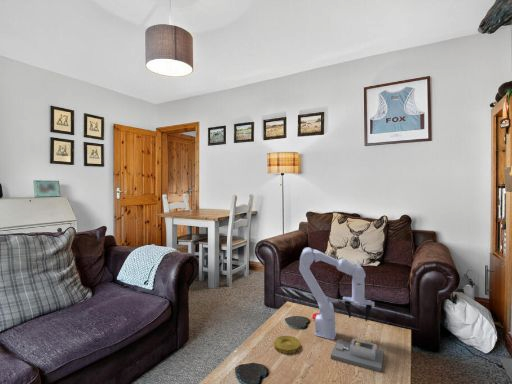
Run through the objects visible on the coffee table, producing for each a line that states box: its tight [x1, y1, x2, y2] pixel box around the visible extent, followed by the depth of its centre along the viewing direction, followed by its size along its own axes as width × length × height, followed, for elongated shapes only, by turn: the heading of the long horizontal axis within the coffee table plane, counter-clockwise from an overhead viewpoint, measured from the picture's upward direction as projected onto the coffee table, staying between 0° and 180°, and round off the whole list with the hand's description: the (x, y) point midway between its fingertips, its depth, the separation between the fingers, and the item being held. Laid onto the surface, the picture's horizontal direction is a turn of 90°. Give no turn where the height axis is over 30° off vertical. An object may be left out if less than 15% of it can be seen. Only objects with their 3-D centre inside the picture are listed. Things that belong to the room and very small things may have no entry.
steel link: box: [350, 338, 377, 361], centre depth 124 cm, size 10×6×4 cm, turn 62°
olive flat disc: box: [273, 335, 301, 355], centre depth 133 cm, size 12×12×2 cm
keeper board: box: [330, 338, 385, 373], centre depth 125 cm, size 20×14×6 cm
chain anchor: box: [336, 343, 348, 351], centre depth 128 cm, size 5×4×1 cm
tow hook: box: [311, 309, 321, 321], centre depth 161 cm, size 8×13×9 cm
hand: (358, 318), depth 140 cm, fingers open, 7 cm apart
